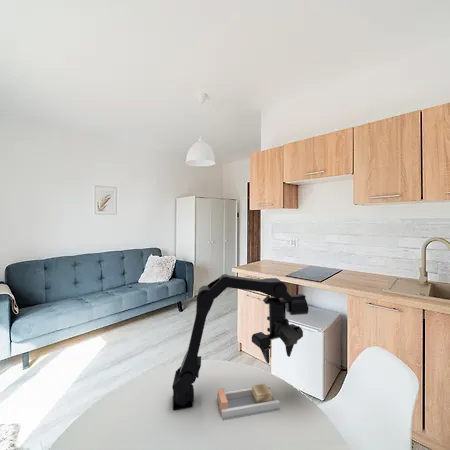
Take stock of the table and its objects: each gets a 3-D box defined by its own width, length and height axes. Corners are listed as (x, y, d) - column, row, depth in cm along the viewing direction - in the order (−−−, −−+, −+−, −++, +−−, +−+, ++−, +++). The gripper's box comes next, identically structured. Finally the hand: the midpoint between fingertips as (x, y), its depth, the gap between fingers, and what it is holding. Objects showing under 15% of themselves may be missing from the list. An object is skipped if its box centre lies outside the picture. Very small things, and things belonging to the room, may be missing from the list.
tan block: (257, 407, 78) (257, 395, 78) (252, 397, 83) (252, 385, 83) (271, 405, 79) (271, 393, 80) (265, 395, 84) (265, 383, 84)
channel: (222, 423, 73) (222, 407, 73) (216, 400, 83) (216, 386, 83) (280, 413, 77) (280, 397, 78) (268, 392, 87) (268, 378, 87)
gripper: (269, 329, 74) (271, 380, 73) (314, 317, 82) (315, 363, 82) (250, 317, 84) (251, 362, 83) (291, 308, 92) (292, 349, 92)
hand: (278, 359), depth 85 cm, fingers open, 9 cm apart
